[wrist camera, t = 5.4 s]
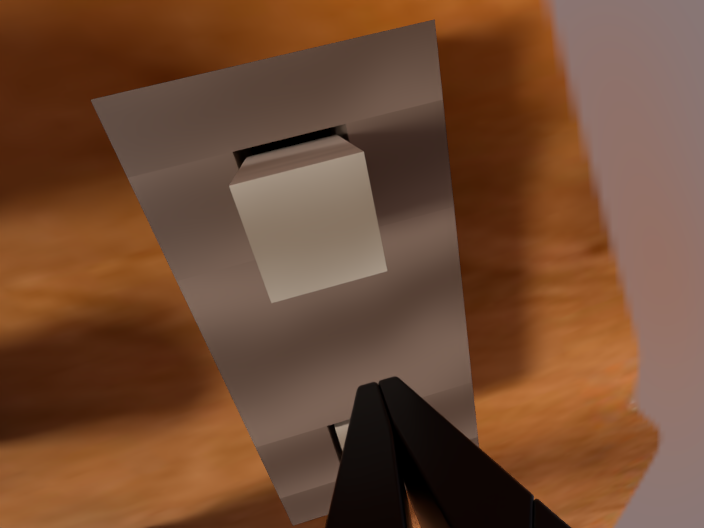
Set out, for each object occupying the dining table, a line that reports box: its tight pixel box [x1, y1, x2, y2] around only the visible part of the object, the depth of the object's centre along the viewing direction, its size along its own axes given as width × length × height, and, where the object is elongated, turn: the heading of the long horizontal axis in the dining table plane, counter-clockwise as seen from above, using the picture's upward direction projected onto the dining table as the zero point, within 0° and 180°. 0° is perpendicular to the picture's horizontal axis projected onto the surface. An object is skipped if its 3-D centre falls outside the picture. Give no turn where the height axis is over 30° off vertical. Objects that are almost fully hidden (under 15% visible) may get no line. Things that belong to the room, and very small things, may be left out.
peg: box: [229, 135, 387, 303], centre depth 11 cm, size 3×3×4 cm
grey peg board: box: [91, 20, 479, 526], centre depth 17 cm, size 20×10×5 cm, turn 12°
